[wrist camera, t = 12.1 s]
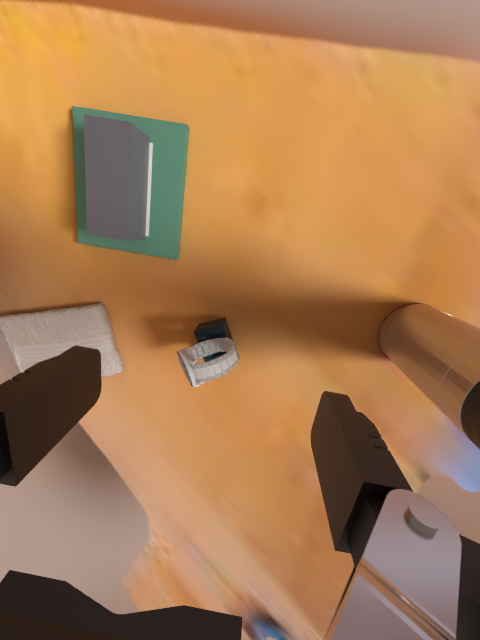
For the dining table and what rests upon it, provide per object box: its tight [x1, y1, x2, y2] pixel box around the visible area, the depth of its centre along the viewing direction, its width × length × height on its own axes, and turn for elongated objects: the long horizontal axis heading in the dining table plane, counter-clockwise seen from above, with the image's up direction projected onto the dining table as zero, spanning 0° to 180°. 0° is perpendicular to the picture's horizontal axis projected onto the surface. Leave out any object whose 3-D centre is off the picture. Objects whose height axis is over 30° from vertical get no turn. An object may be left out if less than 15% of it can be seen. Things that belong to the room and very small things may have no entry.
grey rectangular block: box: [84, 114, 150, 241], centre depth 32 cm, size 12×5×5 cm, turn 171°
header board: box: [72, 106, 189, 260], centre depth 34 cm, size 14×16×5 cm
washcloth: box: [0, 302, 124, 377], centre depth 43 cm, size 12×18×3 cm, turn 99°
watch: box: [177, 318, 240, 387], centre depth 36 cm, size 6×8×11 cm
